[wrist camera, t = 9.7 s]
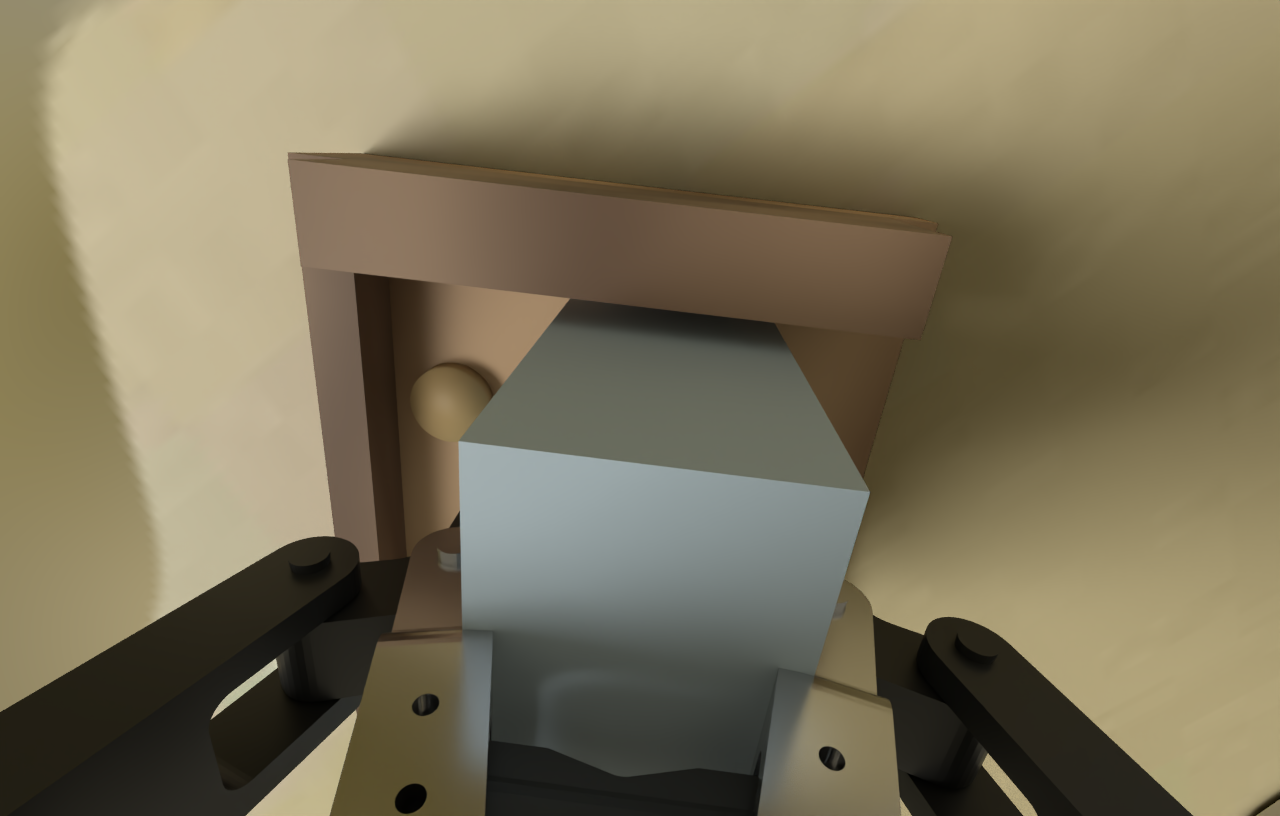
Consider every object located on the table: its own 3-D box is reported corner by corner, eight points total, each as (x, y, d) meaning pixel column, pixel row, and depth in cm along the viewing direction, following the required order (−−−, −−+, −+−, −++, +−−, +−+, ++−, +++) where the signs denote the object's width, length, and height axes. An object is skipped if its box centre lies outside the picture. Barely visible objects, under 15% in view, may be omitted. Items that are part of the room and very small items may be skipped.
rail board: (915, 218, 13) (1020, 244, 9) (764, 757, 19) (785, 906, 15) (361, 153, 13) (222, 152, 9) (404, 709, 19) (336, 845, 16)
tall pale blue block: (769, 313, 12) (870, 492, 6) (710, 614, 15) (731, 948, 9) (576, 290, 12) (458, 441, 6) (557, 594, 15) (467, 912, 9)
